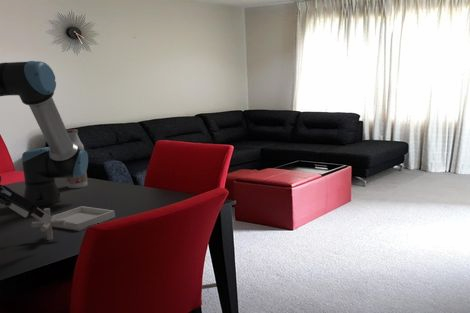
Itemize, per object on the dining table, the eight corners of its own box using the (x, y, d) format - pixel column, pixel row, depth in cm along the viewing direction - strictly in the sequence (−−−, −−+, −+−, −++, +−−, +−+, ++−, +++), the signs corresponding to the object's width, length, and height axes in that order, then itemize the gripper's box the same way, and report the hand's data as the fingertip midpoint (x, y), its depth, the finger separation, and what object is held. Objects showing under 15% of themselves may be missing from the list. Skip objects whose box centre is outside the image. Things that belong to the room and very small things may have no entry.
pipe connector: (39, 234, 149) (36, 205, 147) (70, 233, 150) (67, 203, 148) (28, 245, 139) (24, 214, 137) (61, 243, 140) (58, 212, 138)
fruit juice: (66, 189, 216) (60, 131, 211) (68, 185, 225) (63, 129, 220) (87, 187, 218) (81, 130, 213) (88, 183, 227) (83, 128, 222)
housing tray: (45, 225, 160) (44, 218, 159) (82, 212, 174) (82, 206, 174) (78, 231, 151) (78, 223, 151) (115, 217, 166) (114, 210, 165)
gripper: (-46, 185, 133) (12, 221, 146) (-10, 196, 117) (51, 235, 131) (-29, 164, 136) (26, 201, 150) (9, 172, 120) (66, 213, 134)
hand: (38, 217), depth 140 cm, fingers open, 13 cm apart
